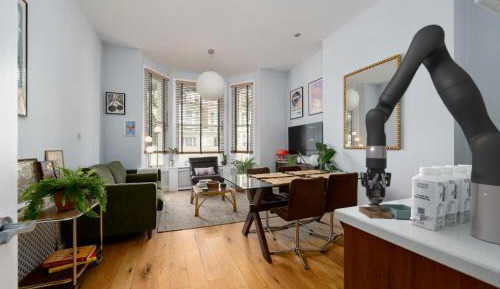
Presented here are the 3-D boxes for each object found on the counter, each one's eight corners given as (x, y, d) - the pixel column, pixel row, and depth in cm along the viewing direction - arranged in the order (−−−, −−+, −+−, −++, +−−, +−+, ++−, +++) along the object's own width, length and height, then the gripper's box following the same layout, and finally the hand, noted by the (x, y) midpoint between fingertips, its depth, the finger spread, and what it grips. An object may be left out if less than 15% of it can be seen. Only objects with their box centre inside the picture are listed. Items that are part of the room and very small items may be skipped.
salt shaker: (376, 203, 89) (376, 176, 90) (387, 207, 84) (387, 177, 84) (364, 204, 88) (364, 176, 89) (374, 208, 83) (374, 178, 83)
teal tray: (403, 212, 90) (403, 204, 90) (420, 220, 81) (421, 211, 81) (381, 212, 90) (381, 203, 90) (396, 219, 81) (396, 210, 81)
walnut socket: (379, 211, 91) (379, 206, 91) (392, 218, 82) (392, 213, 82) (358, 211, 91) (359, 206, 91) (370, 218, 82) (370, 212, 82)
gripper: (369, 157, 81) (368, 200, 81) (398, 157, 85) (397, 198, 84) (354, 156, 88) (354, 195, 88) (382, 156, 92) (381, 194, 92)
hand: (375, 197), depth 86 cm, fingers closed on salt shaker, 6 cm apart
